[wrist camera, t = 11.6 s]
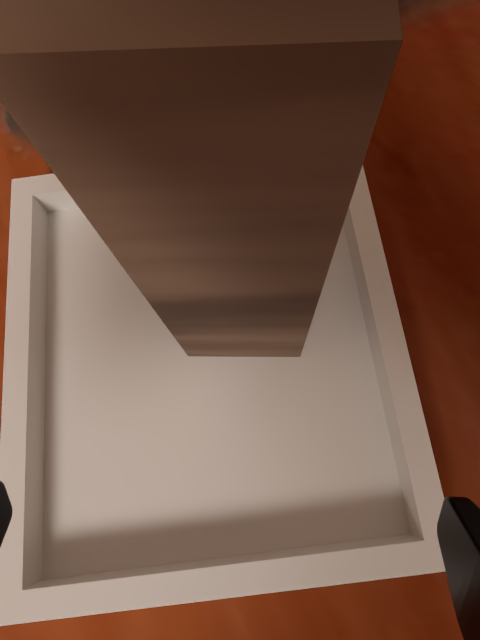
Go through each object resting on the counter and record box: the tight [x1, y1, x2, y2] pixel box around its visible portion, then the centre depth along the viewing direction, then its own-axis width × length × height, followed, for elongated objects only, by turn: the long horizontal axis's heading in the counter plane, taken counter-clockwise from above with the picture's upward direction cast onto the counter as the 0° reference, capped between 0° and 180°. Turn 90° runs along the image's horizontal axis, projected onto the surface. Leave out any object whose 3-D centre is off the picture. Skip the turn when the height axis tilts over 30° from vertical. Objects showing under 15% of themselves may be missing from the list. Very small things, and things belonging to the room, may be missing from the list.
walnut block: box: [0, 0, 403, 357], centre depth 13 cm, size 5×5×15 cm
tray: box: [0, 165, 446, 626], centre depth 19 cm, size 18×16×2 cm
